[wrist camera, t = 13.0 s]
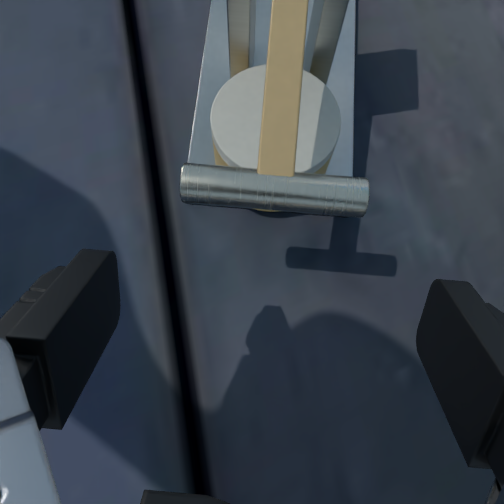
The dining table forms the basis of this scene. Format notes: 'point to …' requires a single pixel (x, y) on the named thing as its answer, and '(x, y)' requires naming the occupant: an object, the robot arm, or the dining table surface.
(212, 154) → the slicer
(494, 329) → the robot arm
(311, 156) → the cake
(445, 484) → the dining table surface
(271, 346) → the dining table surface
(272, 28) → the wood and metal t-shape
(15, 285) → the dining table surface
